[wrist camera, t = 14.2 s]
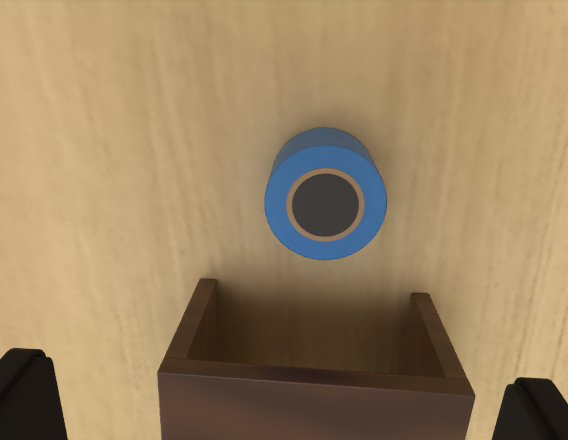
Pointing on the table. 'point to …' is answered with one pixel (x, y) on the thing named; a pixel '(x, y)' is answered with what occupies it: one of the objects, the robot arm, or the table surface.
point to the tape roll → (325, 195)
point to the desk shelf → (311, 388)
